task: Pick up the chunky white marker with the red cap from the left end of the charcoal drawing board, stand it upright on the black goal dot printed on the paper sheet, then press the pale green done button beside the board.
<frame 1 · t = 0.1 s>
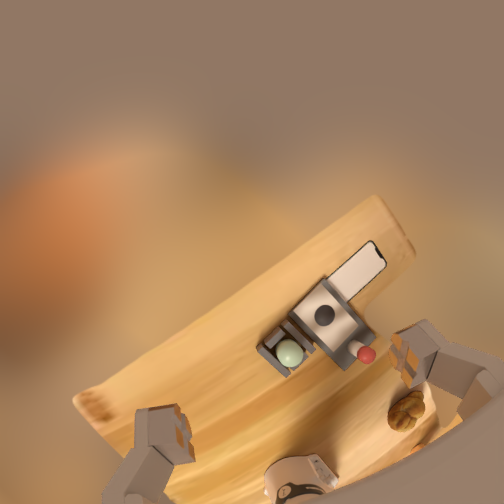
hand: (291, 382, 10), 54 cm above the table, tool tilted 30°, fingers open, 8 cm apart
done button: (289, 352, 60), point 5 cm above the table, slide at 0.0 cm
bread roll: (402, 407, 68), on the table
smartphone: (355, 273, 67), on the table
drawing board: (333, 326, 66), on the table
beer glass: (416, 450, 69), on the table
marker: (353, 346, 66), point 1 cm above the table, touching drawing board
button base: (284, 346, 65), on the table
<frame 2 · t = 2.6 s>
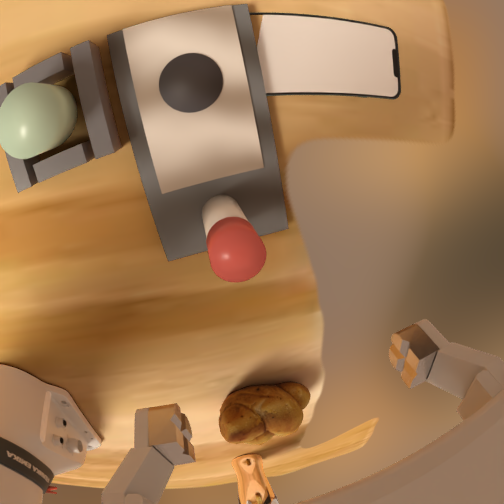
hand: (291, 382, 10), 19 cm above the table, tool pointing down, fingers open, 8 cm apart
done button: (37, 118, 15), point 5 cm above the table, slide at 0.0 cm
bread roll: (260, 396, 40), on the table
smartphone: (325, 55, 22), on the table
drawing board: (200, 130, 23), on the table
beer glass: (246, 459, 49), on the table
marker: (221, 213, 25), point 1 cm above the table, touching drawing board
button base: (60, 115, 19), on the table
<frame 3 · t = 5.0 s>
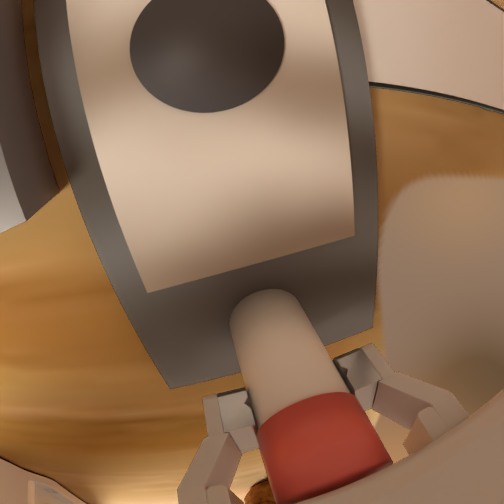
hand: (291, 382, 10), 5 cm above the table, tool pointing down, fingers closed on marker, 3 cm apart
bread roll: (292, 478, 28), on the table
smartphone: (440, 31, 10), on the table
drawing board: (227, 153, 11), on the table
marker: (266, 319, 13), point 1 cm above the table, touching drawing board, gripper
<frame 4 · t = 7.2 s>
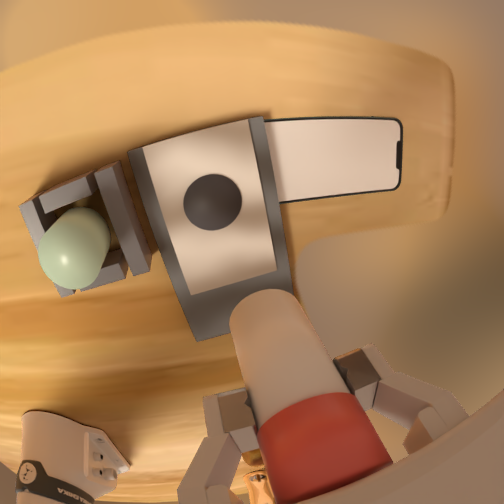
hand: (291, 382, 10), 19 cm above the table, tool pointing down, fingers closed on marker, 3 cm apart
done button: (75, 246, 20), point 5 cm above the table, slide at 0.0 cm
bread roll: (273, 425, 44), on the table
smartphone: (333, 156, 27), on the table
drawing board: (222, 239, 28), on the table
beer glass: (256, 474, 54), on the table
marker: (265, 319, 13), point 15 cm above the table, touching gripper
button base: (90, 225, 24), on the table
when the fingers open (6 cm above the table, at t = 9.5 s): marker stays where it is, resting on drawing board.
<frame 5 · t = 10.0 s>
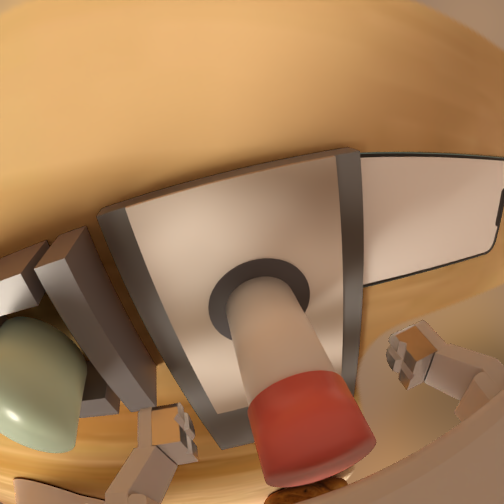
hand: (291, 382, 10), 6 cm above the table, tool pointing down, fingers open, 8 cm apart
done button: (30, 388, 10), point 5 cm above the table, slide at 0.0 cm
bread roll: (300, 487, 34), on the table
smartphone: (434, 212, 16), on the table
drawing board: (266, 344, 17), on the table
marker: (260, 306, 14), point 1 cm above the table, touching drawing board
button base: (53, 324, 13), on the table
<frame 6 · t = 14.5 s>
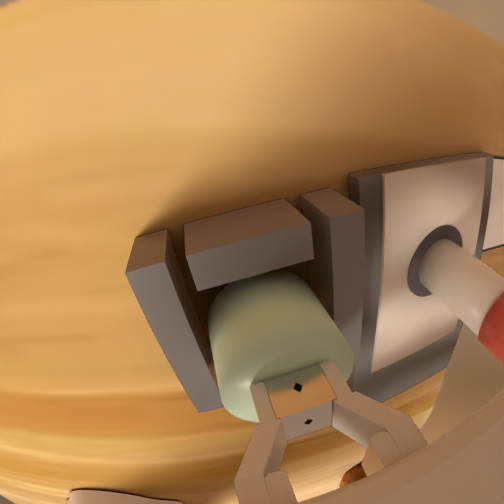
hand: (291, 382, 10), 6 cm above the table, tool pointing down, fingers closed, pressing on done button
done button: (275, 347, 12), point 4 cm above the table, slide at 0.6 cm, touching gripper
bread roll: (371, 462, 36), on the table
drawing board: (417, 302, 19), on the table
marker: (437, 263, 16), point 1 cm above the table, touching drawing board
button base: (253, 293, 15), on the table
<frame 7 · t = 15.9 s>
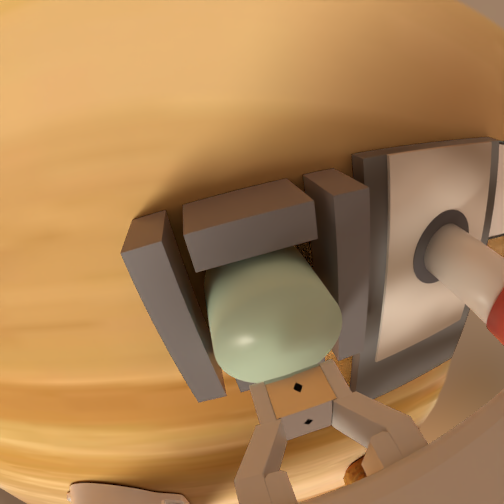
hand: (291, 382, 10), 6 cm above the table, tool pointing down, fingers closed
done button: (267, 309, 13), point 2 cm above the table, slide at 2.1 cm
bread roll: (375, 454, 36), on the table
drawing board: (422, 289, 18), on the table
marker: (443, 248, 15), point 1 cm above the table, touching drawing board
button base: (254, 278, 15), on the table
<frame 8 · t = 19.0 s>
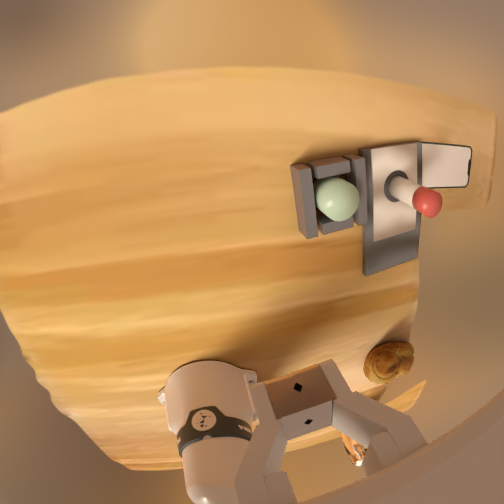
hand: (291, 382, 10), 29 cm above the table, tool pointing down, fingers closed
done button: (334, 197, 37), point 2 cm above the table, slide at 2.1 cm
bread roll: (383, 352, 60), on the table
smartphone: (441, 165, 42), on the table
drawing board: (391, 208, 43), on the table
beer glass: (343, 416, 69), on the table
marker: (396, 186, 40), point 1 cm above the table, touching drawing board
button base: (326, 191, 39), on the table
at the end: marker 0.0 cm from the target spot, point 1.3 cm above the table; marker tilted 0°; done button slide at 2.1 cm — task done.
